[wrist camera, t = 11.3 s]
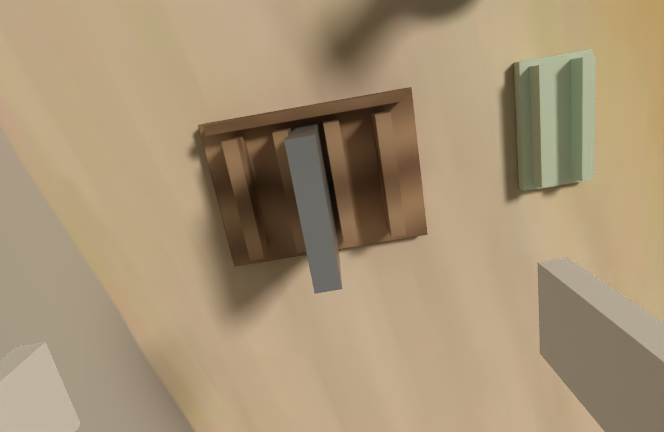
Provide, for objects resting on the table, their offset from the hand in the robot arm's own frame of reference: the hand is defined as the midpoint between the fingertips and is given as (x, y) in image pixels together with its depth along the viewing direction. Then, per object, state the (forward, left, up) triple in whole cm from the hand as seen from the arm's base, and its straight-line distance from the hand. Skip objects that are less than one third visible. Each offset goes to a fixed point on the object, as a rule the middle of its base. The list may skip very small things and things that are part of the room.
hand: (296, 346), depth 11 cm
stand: (-1, +21, -27) cm, 34 cm away
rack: (+1, 0, -27) cm, 27 cm away
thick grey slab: (+1, 0, -26) cm, 26 cm away
